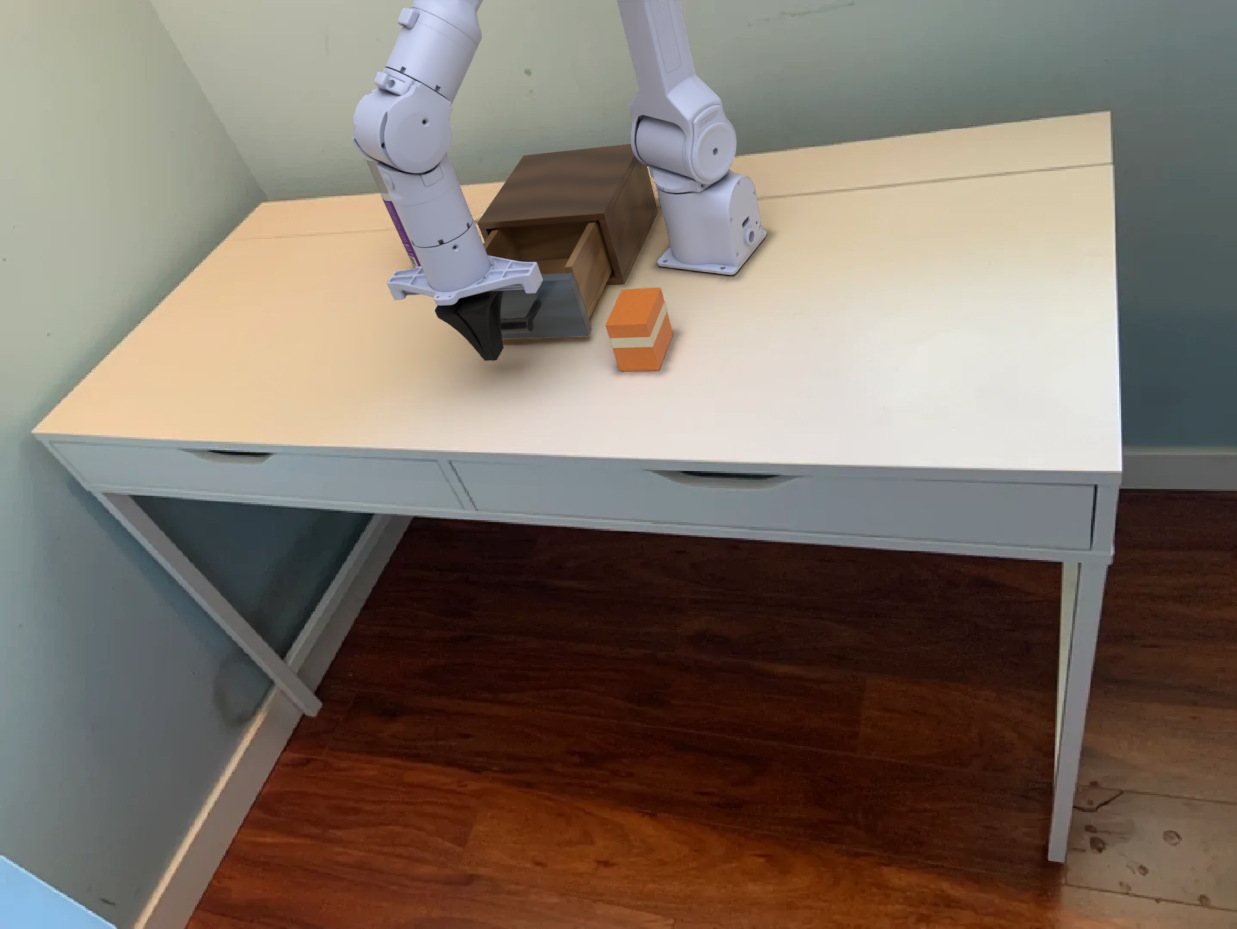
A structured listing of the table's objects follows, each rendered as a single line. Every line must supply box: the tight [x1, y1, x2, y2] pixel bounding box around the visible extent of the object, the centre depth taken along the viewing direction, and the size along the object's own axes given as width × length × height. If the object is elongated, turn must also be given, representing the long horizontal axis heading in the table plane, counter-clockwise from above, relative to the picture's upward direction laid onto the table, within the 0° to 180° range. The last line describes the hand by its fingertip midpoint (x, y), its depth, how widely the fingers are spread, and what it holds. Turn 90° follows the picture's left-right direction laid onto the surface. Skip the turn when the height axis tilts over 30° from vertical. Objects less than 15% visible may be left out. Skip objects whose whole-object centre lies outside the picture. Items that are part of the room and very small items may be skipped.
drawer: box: [482, 220, 613, 340], centre depth 99 cm, size 18×13×7 cm
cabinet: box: [477, 143, 659, 286], centre depth 107 cm, size 15×15×9 cm
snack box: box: [605, 287, 674, 372], centre depth 91 cm, size 6×4×6 cm
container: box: [364, 156, 421, 268], centre depth 111 cm, size 5×5×15 cm
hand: (493, 354), depth 91 cm, fingers closed
